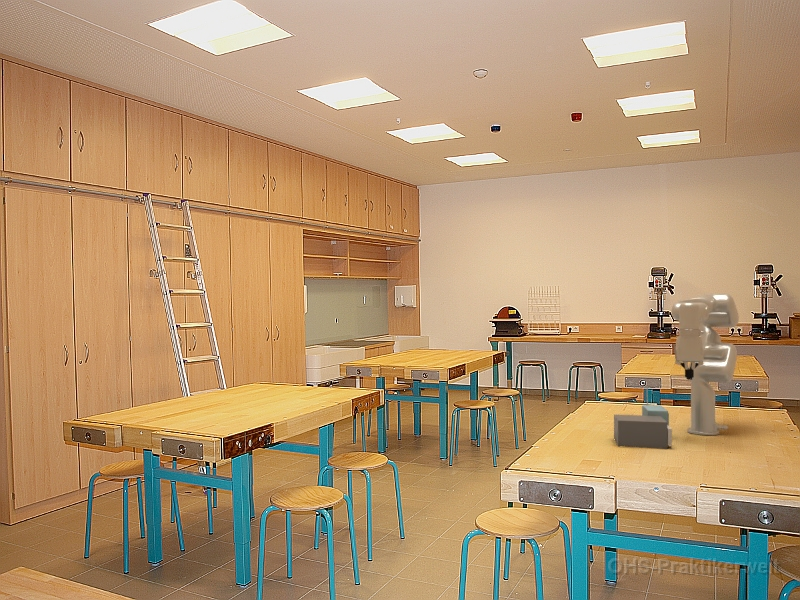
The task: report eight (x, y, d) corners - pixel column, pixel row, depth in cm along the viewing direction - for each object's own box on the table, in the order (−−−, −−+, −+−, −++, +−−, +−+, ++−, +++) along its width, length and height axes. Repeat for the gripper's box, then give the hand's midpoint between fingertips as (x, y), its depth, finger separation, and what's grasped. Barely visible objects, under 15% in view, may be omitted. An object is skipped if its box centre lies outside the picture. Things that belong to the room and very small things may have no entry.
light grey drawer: (664, 437, 272) (664, 422, 272) (671, 445, 257) (671, 428, 257) (620, 436, 275) (620, 420, 276) (625, 443, 260) (625, 427, 260)
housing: (660, 440, 272) (660, 416, 272) (667, 448, 257) (667, 422, 257) (613, 438, 276) (613, 414, 276) (618, 446, 261) (618, 420, 261)
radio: (671, 440, 274) (671, 391, 274) (647, 439, 275) (647, 390, 276) (664, 433, 289) (664, 386, 289) (642, 432, 291) (642, 386, 291)
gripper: (706, 333, 273) (706, 378, 273) (667, 333, 276) (667, 377, 276) (711, 334, 265) (711, 380, 265) (671, 333, 268) (671, 379, 268)
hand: (689, 379), depth 270 cm, fingers closed
